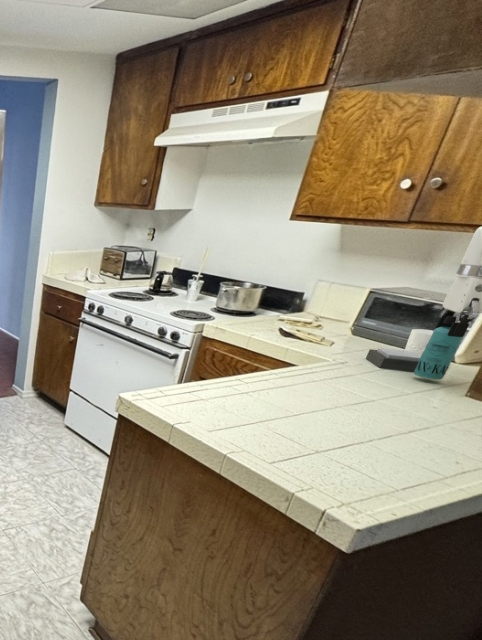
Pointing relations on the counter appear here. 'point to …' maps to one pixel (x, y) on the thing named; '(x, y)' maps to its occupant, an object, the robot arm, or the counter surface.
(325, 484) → the counter surface
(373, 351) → the scale
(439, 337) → the beverage bottle
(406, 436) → the counter surface
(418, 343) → the white cup
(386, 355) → the pan
